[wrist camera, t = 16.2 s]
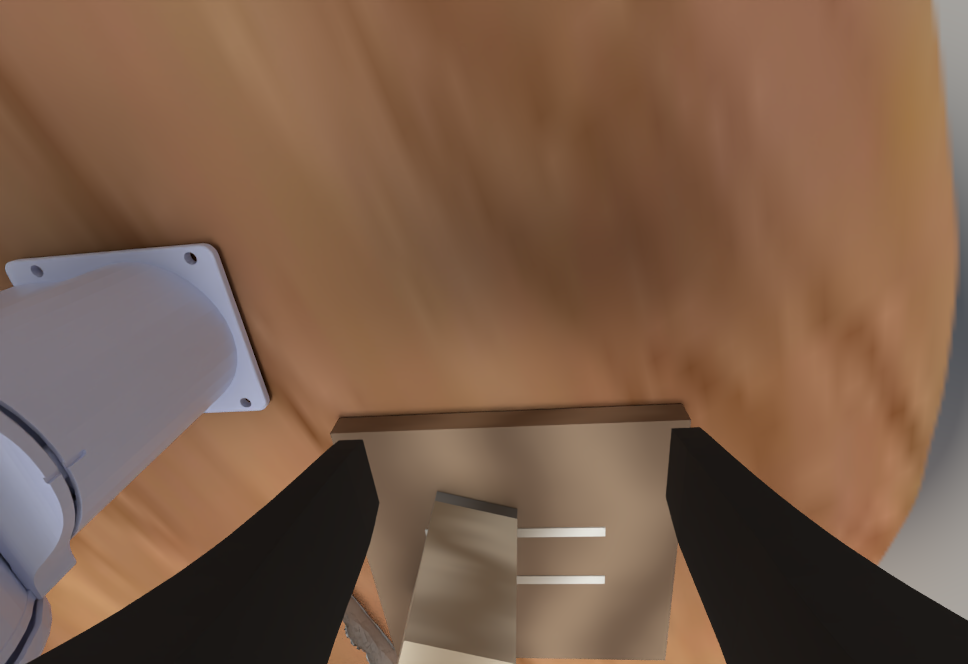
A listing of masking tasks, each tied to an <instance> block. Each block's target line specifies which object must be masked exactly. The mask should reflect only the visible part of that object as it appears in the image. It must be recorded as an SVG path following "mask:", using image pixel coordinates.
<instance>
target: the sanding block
mask: <svg viewBox="0 0 968 664" xmlns="http://www.w3.org/2000/svg"><path fill="white" fill-rule="evenodd" d="M516 599H517V509H515V508H510V507H506V506H501V505H497V504H492V503H488V502H483V501H479V500H474V499H469V498H465V497H460V496H456V495H451V494H447V493H442V492H438V491H437V493H436V497H435V502H434V506H433V510H432V514H431V518H430V523H429V527H428V531H427V535H426V539H425V544H424V548H423V552H422V556H421V560H420V565H419V569H418V573H417V577H416V581H415V586H414V590H413V594H412V598H411V603H410V607H409V612H408V616H407V621H406V625H405V630H404V634H403V638H402V643H401V647H400V652H399V656H398V661H397V664H516Z"/></svg>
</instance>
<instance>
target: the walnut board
mask: <svg viewBox="0 0 968 664" xmlns="http://www.w3.org/2000/svg"><path fill="white" fill-rule="evenodd" d="M690 425H691V419H690V417H689V415H688V414H687V412H686V410H685V408H684V406H683V404H666V405H642V406H618V407H594V408H570V409H546V410H521V411H497V412H473V413H449V414H425V415H400V416H376V417H352V418H339V419H338V421H337V423H336V425H335V426H334V428H333V430H332V431H331V433H330V435H331V438H332V441H333V445H334V444H335V443H336V442H337V441H339V440H360V439H363V442H364V446H365V449H366V453H367V457H368V461H369V465H370V468H371V472H372V476H373V480H374V484H375V487H376V491H377V495H378V499H379V502H380V503H379V508H378V512H377V517H376V521H375V526H374V530H373V534H372V538H371V542H370V545H369V548H368V551H367V554H366V555H367V558H368V561H369V565H370V568H371V571H372V575H373V578H374V581H375V585H376V588H377V591H378V595H379V598H380V602H381V605H382V608H383V612H384V615H385V618H386V622H387V625H388V628H389V632H390V635H391V638H392V642H393V645H394V648H395V652H396V655H397V656H399V652H400V647H401V643H402V638H403V634H404V630H405V625H406V621H407V616H408V612H409V607H410V603H411V598H412V594H413V590H414V586H415V581H416V577H417V573H418V569H419V565H420V560H421V556H422V552H423V548H424V544H425V539H426V535H427V531H428V527H429V523H430V518H431V514H432V510H433V506H434V502H435V497H436V493H437V491H438V492H442V493H447V494H451V495H456V496H460V497H465V498H469V499H474V500H479V501H483V502H488V503H492V504H497V505H501V506H506V507H510V508H515V509H517V599H516V658H557V659H617V660H665V657H666V647H667V638H668V629H669V620H670V610H671V601H672V592H673V582H674V573H675V564H676V555H677V545H678V540H677V537H676V534H675V530H674V526H673V523H672V519H671V516H670V512H669V508H668V504H667V500H666V486H667V475H668V463H669V452H670V440H671V429H672V428H690Z"/></svg>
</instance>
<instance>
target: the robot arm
mask: <svg viewBox="0 0 968 664" xmlns="http://www.w3.org/2000/svg"><path fill="white" fill-rule="evenodd" d="M190 252H191V253H193V254H194V255H195V256H196V258H197V262H196V261H194V260H193V259H192V258H191V255H190ZM40 268H41V269H42V271H43V272H42V271H41V269H40ZM5 271H6V273H7V275H8V277H9V279H10V281H11V282H12V284H13V286H14V287H11V288H8V289H5V290H2V291H0V664H327V663H328V660H329V657H330V654H331V651H332V648H333V644H334V641H335V639H336V636H337V633H338V630H339V628H340V625H341V622H342V620H343V617H344V614H345V611H346V609H347V606H348V603H349V601H350V598H351V595H352V593H353V590H354V587H355V584H356V582H357V579H358V576H359V574H360V571H361V568H362V565H363V562H364V560H365V557H366V554H367V551H368V548H369V545H370V542H371V538H372V534H373V530H374V526H375V521H376V517H377V512H378V508H379V503H380V502H379V499H378V495H377V491H376V487H375V484H374V480H373V476H372V472H371V468H370V465H369V461H368V457H367V453H366V449H365V446H364V442H363V439H360V440H339V441H337V442H336V443H335V444H334V445H333V446H331V447H330V448H329V449H328V450H327V451H326V452H325V453H323V454H322V455H321V456H320V457H319V458H318V459H317V460H316V461H315V462H314V463H312V464H311V465H310V466H309V467H308V468H307V469H306V470H305V471H304V472H303V473H302V474H300V475H299V476H298V477H297V478H296V479H295V480H294V481H293V482H292V483H290V484H289V485H288V486H287V487H286V488H285V489H284V490H283V491H281V492H280V493H279V494H278V495H277V496H276V497H275V498H274V499H273V500H271V501H270V502H269V503H268V504H267V505H265V506H264V507H263V508H262V509H261V510H259V511H258V512H257V513H256V514H255V515H253V516H252V517H251V518H250V519H249V520H247V521H246V522H245V523H244V524H243V525H241V526H240V527H239V528H238V529H236V530H235V531H234V532H233V533H232V534H230V535H229V536H228V537H227V538H225V539H224V540H223V541H221V542H220V543H219V544H217V545H216V546H215V547H213V548H212V549H211V550H209V551H208V552H207V553H205V554H204V555H203V556H201V557H200V558H198V559H197V560H196V561H194V562H193V563H191V564H190V565H189V566H187V567H186V568H184V569H183V570H182V571H180V572H179V573H177V574H176V575H174V576H173V577H171V578H170V579H168V580H167V581H165V582H164V583H162V584H161V585H159V586H157V587H156V588H154V589H153V590H151V591H150V592H148V593H147V594H145V595H143V596H142V597H140V598H139V599H137V600H136V601H134V602H133V603H131V604H129V605H128V606H126V607H125V608H123V609H122V610H120V611H118V612H117V613H115V614H113V615H112V616H110V617H108V618H107V619H105V620H103V621H102V622H100V623H98V624H96V625H95V626H93V627H91V628H90V629H88V630H86V631H84V632H83V633H81V634H79V635H77V636H76V637H74V638H72V639H70V640H68V641H67V642H65V643H63V644H61V645H59V646H58V647H56V648H54V649H52V650H50V651H49V652H47V653H45V654H43V655H41V653H42V651H43V649H44V647H45V644H46V642H47V639H48V636H49V634H50V629H51V623H52V613H51V606H50V604H49V602H48V600H47V598H46V596H45V595H46V594H47V593H48V592H49V591H50V590H51V589H52V588H53V587H54V586H55V585H56V584H57V583H58V582H59V581H60V579H61V578H62V577H63V576H64V575H65V574H66V573H67V572H68V571H69V570H70V569H71V568H72V567H73V566H74V565H75V564H76V559H75V557H74V556H73V554H72V552H71V549H70V540H71V539H72V538H73V537H74V536H75V535H76V534H77V533H78V532H79V531H80V530H81V529H82V528H83V527H84V526H86V525H87V524H88V523H89V522H90V521H91V520H92V519H93V518H94V517H95V516H96V515H97V514H98V513H99V512H100V511H101V510H102V509H103V508H104V507H105V506H106V505H107V504H108V503H110V502H111V501H112V500H113V499H114V498H115V497H116V496H117V495H118V494H119V493H120V492H121V491H122V490H123V489H124V488H125V487H126V486H127V485H128V484H129V483H130V482H131V481H133V480H134V479H135V478H136V477H137V476H138V475H139V474H140V473H141V472H142V471H143V470H144V469H145V468H146V467H147V466H148V465H149V464H150V463H151V462H152V461H153V460H154V459H155V458H157V457H158V456H159V455H160V454H161V453H162V452H163V451H164V450H165V449H166V448H167V447H168V446H169V445H170V444H171V443H172V442H173V441H174V440H175V439H176V438H177V437H178V436H179V435H181V434H182V433H183V432H184V431H185V430H186V429H187V428H188V427H189V426H190V425H191V424H192V423H193V422H194V421H195V420H196V419H197V418H198V417H199V416H200V415H201V414H202V413H216V412H239V411H260V410H263V409H265V408H266V407H267V405H268V404H269V402H270V399H269V395H268V393H267V390H266V387H265V384H264V381H263V378H262V376H261V373H260V370H259V367H258V364H257V361H256V359H255V356H254V353H253V350H252V347H251V345H250V342H249V339H248V336H247V333H246V330H245V328H244V325H243V322H242V319H241V316H240V313H239V311H238V308H237V305H236V302H235V299H234V297H233V294H232V291H231V288H230V285H229V282H228V280H227V277H226V274H225V271H224V268H223V265H222V263H221V260H220V257H219V254H218V252H217V251H216V249H215V248H214V247H213V246H211V245H209V244H206V243H198V244H187V245H176V246H164V247H153V248H141V249H130V250H118V251H107V252H95V253H84V254H72V255H61V256H49V257H38V258H26V259H17V260H14V261H10V262H8V263H7V264H6V265H5ZM245 398H247V399H248V400H250V402H251V403H250V402H248V401H246V399H245ZM666 500H667V504H668V508H669V512H670V516H671V519H672V523H673V526H674V530H675V534H676V537H677V540H678V543H679V546H680V548H681V551H682V553H683V556H684V558H685V561H686V563H687V566H688V568H689V571H690V573H691V576H692V578H693V581H694V583H695V585H696V588H697V590H698V593H699V595H700V598H701V600H702V603H703V605H704V608H705V610H706V612H707V615H708V617H709V620H710V622H711V625H712V627H713V630H714V632H715V634H716V637H717V639H718V642H719V644H720V647H721V650H722V652H723V655H724V658H725V661H726V663H727V664H968V620H966V619H964V618H962V617H961V616H959V615H957V614H955V613H954V612H952V611H950V610H948V609H947V608H945V607H944V606H942V605H940V604H938V603H937V602H935V601H933V600H932V599H930V598H928V597H927V596H925V595H923V594H921V593H920V592H918V591H916V590H915V589H913V588H911V587H910V586H908V585H906V584H905V583H903V582H902V581H900V580H898V579H897V578H895V577H894V576H892V575H890V574H889V573H887V572H886V571H884V570H883V569H881V568H880V567H878V566H877V565H875V564H874V563H872V562H871V561H869V560H868V559H866V558H865V557H863V556H862V555H860V554H859V553H857V552H856V551H854V550H853V549H851V548H850V547H848V546H847V545H845V544H844V543H842V542H841V541H839V540H838V539H837V538H835V537H834V536H832V535H831V534H829V533H828V532H827V531H825V530H824V529H823V528H821V527H820V526H819V525H817V524H816V523H815V522H813V521H812V520H811V519H809V518H808V517H807V516H805V515H804V514H803V513H801V512H800V511H799V510H797V509H796V508H795V507H793V506H792V505H791V504H790V503H788V502H787V501H786V500H784V499H783V498H782V497H781V496H779V495H778V494H777V493H776V492H774V491H773V490H772V489H771V488H770V487H768V486H767V485H766V484H765V483H764V482H762V481H761V480H760V479H759V478H757V477H756V476H755V475H754V474H753V473H752V472H750V471H749V470H748V469H747V468H746V467H745V466H743V465H742V464H741V463H740V462H739V461H738V460H737V459H735V458H734V457H733V456H732V455H731V454H730V453H729V452H727V451H726V450H725V449H724V448H723V447H722V446H721V445H720V444H718V443H717V442H716V441H715V440H714V439H713V438H712V437H711V436H709V435H708V434H707V433H706V432H705V431H704V430H702V429H701V428H700V427H694V428H672V429H671V440H670V452H669V463H668V475H667V486H666ZM40 655H41V656H40Z"/></svg>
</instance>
